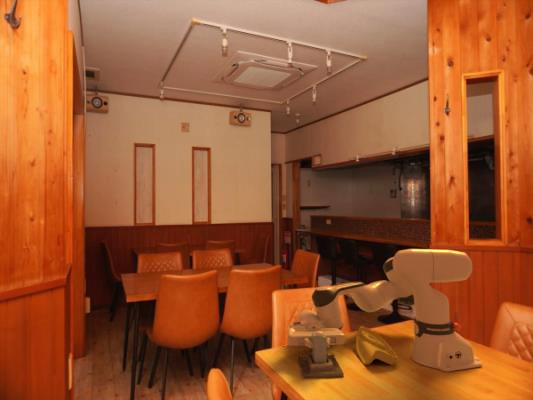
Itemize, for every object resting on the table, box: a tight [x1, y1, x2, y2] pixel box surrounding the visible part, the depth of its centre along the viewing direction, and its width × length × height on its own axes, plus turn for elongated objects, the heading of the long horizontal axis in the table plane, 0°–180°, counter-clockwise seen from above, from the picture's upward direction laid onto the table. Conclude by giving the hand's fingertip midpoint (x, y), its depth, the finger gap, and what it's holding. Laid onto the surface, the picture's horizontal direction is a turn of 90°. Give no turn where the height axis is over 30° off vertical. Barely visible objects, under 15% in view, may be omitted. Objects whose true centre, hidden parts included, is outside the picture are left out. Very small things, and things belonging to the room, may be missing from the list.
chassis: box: [297, 353, 345, 379], centre depth 124 cm, size 13×14×3 cm
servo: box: [311, 331, 327, 363], centre depth 124 cm, size 4×5×10 cm
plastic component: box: [355, 325, 399, 366], centre depth 134 cm, size 20×7×10 cm
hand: (319, 345), depth 123 cm, fingers closed on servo, 4 cm apart
